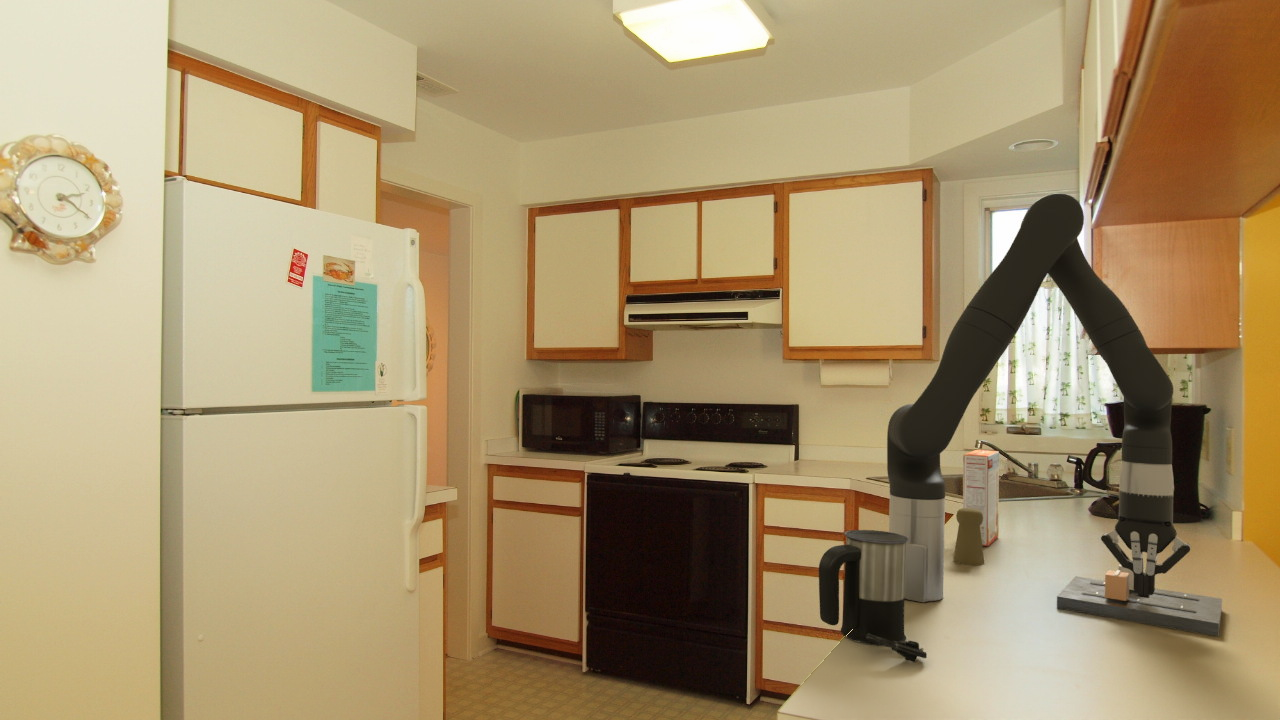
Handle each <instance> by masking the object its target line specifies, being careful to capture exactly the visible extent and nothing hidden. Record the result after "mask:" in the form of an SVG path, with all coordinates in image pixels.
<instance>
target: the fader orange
mask: <svg viewBox="0 0 1280 720" xmlns="http://www.w3.org/2000/svg"><path fill="white" fill-rule="evenodd" d="M1104 581H1105V598H1111V599H1117V600H1123V601H1126V600H1127V598H1128V597H1129V573H1125V572H1121V570H1118V569H1117V570H1110V569H1109V570H1107V572H1106V573H1105V579H1104Z"/></svg>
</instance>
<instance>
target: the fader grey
mask: <svg viewBox="0 0 1280 720" xmlns="http://www.w3.org/2000/svg"><path fill="white" fill-rule="evenodd" d="M1117 568H1118V569H1117V570H1121V572H1125V573H1129V590H1134V573H1133V572H1132V571H1131V570H1129V569H1127V568H1124V567H1122V566H1121V564H1120V563H1119V565H1118V567H1117Z"/></svg>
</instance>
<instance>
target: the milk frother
mask: <svg viewBox="0 0 1280 720" xmlns="http://www.w3.org/2000/svg"><path fill="white" fill-rule="evenodd" d="M843 535H844V536H845V537H846V540H845V541H846V544H841V545H835V546H832V547H830V548H828V549H827V550H826V551H825V552H824V553H823V555H822V556H821V558H820V560H819V564H818V595H819V617H820V620H821V621H822V622H824V623H826V624H828V625H829V626H837V625H838V624H839V622H840V621H839V620H840V575H839V574H840V571H841V570H840V569H841V568H842V566H843V565H844V581H843V590H844V591H843V605H842V621H841V622H842V623H841V628H840V632H841V633H840V634H842V635H843V636H844V637H845V636H846V635H847V634H848V633H849V632H850V631H851V630H852V629H853V630H852V631H851V632H850V633H849V634H848V635H847V637H846V638H847V639H848V640H851V641H854V642H857V643H861V644H865V645H871V646H884V647H887V648H891V650H892V651H895V652H896V653H897V654H898V655H900V656H901V657H903V658H905V661H909V662H913V663H915V662H916V661H917V658H918V657H919V658H922V659H926V658H927V655H928V653H927V652H926V651H924V648H922V647H921V648H920V644H919V642H918V641H914V640H908V641H906V640H907V636H906V635H905V600H906V599H905V598H904V596H905V569H906V542H907V541H908V540H909V539H908V537H906V536H903V535H899V534H896V533H891V532H889V531H884V530H874V529H872V530H871V529H853V530H848V531H847V530H846V531H845V532H844V534H843Z"/></svg>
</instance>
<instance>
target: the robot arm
mask: <svg viewBox="0 0 1280 720" xmlns="http://www.w3.org/2000/svg"><path fill="white" fill-rule="evenodd" d="M1084 221H1085V215H1084V210H1083V207H1082V205H1081V203H1080V202H1079V201H1078V199H1076V198H1075V197H1074V196H1072V195H1070V194H1066V193H1062V192H1061V193H1060V192H1057V193H1051V194H1047V195H1045V196H1042V197H1041V198H1039V199H1037V200H1035V202H1033V203H1032V204H1031V205H1030V207H1028V209H1027V211H1026V213H1025V215H1024V217H1023V219H1022V220H1021V224H1020V227H1019V229H1018V231H1017V234H1016V236H1015V237H1014V240H1013V241H1012V243H1011V245H1010V247H1009V249H1008V250H1007V252H1006V253H1005V255H1004V257H1003V258H1002V259H1001V261H1000V262H999V264H997V266H996V267H995V269H994V270H993V271H992V272H991V274H990V275H989V276H988V277H987V279H986V280H985V281H984V282H983V284H982V285H981V286H980V288H979V289H978V290H977V292H976V293H975V294H974V296H973V297H972V299H971V300H970V301H969V303H968V304H967V306H966V307H965V309H964V310H963V312H961V313H962V314H961V315H960V316H959V318H958V320H957V321H956V323H955V324H954V326H953V328H952V330H951V332H950V334H949V336H948V338H947V341H946V344H945V347H944V350H943V353H942V356H941V358H940V362H939V365H938V366H937V367H938V368H937V370H936V371H935V374H934V376H933V377H932V378H931V380H930V382H929V384H928V385H927V386H926V388H925V389H924V390H923V392H922V393H921V394H920V395H919V396H918V398H917V400H916V401H914V403H909V404H905V405H903V406H900V407H898V408H897V409H896V410H895V411H894V412H893V414H892V415H891V417H890V419H889V420H888V421H889V422H888V425H887V431H886V432H887V434H886V435H887V436H886V442H887V443H886V449H887V450H886V457H887V458H886V463H887V464H886V465H887V467H886V468H887V469H886V472H887V477H888V482H889V483H888V484H889V508H888V509H889V510H888V532H891V533H896V534H899V535H903V536H906V537H908V539H909V540H908V541H907V542H906V569H905V596H904V598H905V600H910V601H914V602H918V603H919V602H920V603H926V602H933V601H939V600H941V599H943V598H944V575H945V573H944V572H945V571H944V568H945V567H944V566H945V565H944V564H945V561H944V560H945V522H946V521H945V515H946V483H945V480H944V478H943V474H942V470H941V468H942V467H941V454H942V452H944V450H946V449H947V448H948V446H949V445H950V442H951V441H952V439H953V437H954V435H955V433H956V432H957V428H958V427H959V425H960V423H961V421H962V419H963V416H964V414H965V413H966V412H967V411H966V410H967V409H968V406H969V404H970V402H971V401H972V399H973V398H974V396H975V395H976V393H977V392H978V390H979V389H980V388H981V386H982V385H983V383H984V382H985V380H986V379H987V378H988V377H989V375H990V373H991V372H992V370H993V369H994V367H995V366H996V364H997V363H998V361H999V360H1000V359H1001V357H1002V355H1004V353H1005V351H1006V350H1007V348H1008V347H1009V345H1010V344H1011V342H1012V341H1013V339H1014V338H1015V336H1016V334H1017V333H1018V331H1019V329H1020V328H1021V326H1022V324H1023V322H1024V320H1025V318H1026V316H1027V314H1028V312H1029V310H1030V308H1031V307H1032V305H1033V302H1034V300H1035V298H1036V296H1037V295H1038V291H1039V290H1040V288H1041V285H1042V284H1043V281H1044V280H1045V278H1046V276H1047V275H1048V276H1049V277H1050V279H1052V281H1053V282H1054V284H1055V285H1056V286H1057V288H1058V289H1059V291H1060V292H1061V293H1062V296H1064V298H1065V299H1066V301H1067V302H1068V304H1069V305H1070V307H1071V309H1072V311H1073V312H1074V314H1075V316H1077V319H1078V321H1079V322H1080V324H1081V326H1082V327H1083V329H1084V331H1085V332H1086V334H1087V336H1088V338H1089V340H1090V341H1091V342H1092V344H1093V346H1094V348H1095V349H1096V351H1097V352H1098V354H1099V355H1100V357H1101V359H1103V361H1104V362H1105V363H1106V365H1107V367H1108V369H1109V371H1110V373H1111V375H1112V377H1113V379H1114V382H1115V383H1116V385H1117V387H1118V388H1119V391H1120V393H1121V395H1122V396H1123V417H1124V418H1123V419H1124V421H1123V422H1124V428H1123V430H1122V437H1121V464H1120V469H1119V484H1118V485H1119V486H1118V488H1119V489H1118V491H1119V492H1118V520H1117V522H1116V524H1115V525H1114V529H1113V530H1111V531H1109V532H1106V533H1104V534H1102V535H1101V537H1100V541H1101V542H1102V544H1104V545H1105V546H1106V548H1107V549H1108V550H1109V552H1110V553H1111V554H1112V556H1113V557H1114V558H1115V559H1116V561H1117V562H1118V563H1119V564H1121V566H1122V567H1124V568H1127V569H1129V570H1131V571H1132V572H1133V573H1134V592H1135V593H1138V597H1144V598H1149V597H1150V595H1153V593H1154V591H1155V587H1156V585H1155V584H1156V575H1158V574H1159V575H1160V574H1163V575H1165V574H1167V573H1168V572H1169V571H1170V570H1171V569H1172V568H1173V567H1174V566H1176V564H1178V563H1179V562H1180V561H1182V559H1183V558H1184V557H1185V556H1186V555H1188V554H1189V553H1190V551H1191V549H1192V548H1191V547H1192V546H1191V545H1190V543H1188V542H1185V541H1184V540H1182V539H1181V538H1180V537H1178V536H1177V531H1176V530H1177V529H1175V526H1174V492H1175V484H1174V479H1175V478H1174V472H1173V471H1174V470H1173V465H1172V464H1173V439H1172V438H1173V437H1172V432H1171V424H1172V423H1171V421H1172V409H1173V407H1172V404H1173V396H1174V385H1173V383H1172V380H1171V378H1170V377H1169V375H1168V374H1167V372H1166V371H1165V369H1164V367H1163V366H1162V364H1160V362H1159V361H1158V359H1157V358H1156V356H1155V355H1154V353H1153V352H1152V350H1151V349H1150V348H1149V346H1148V344H1147V342H1146V339H1145V337H1144V335H1143V333H1142V332H1141V330H1140V328H1139V327H1138V325H1137V323H1136V322H1135V320H1134V318H1133V316H1132V314H1131V313H1130V311H1129V310H1128V309H1127V307H1126V306H1125V304H1124V303H1123V302H1122V301H1121V299H1120V298H1119V297H1118V296H1117V295H1116V293H1115V292H1114V291H1113V290H1112V289H1111V288H1110V287H1109V286H1108V285H1107V284H1106V283H1105V282H1104V281H1103V280H1102V279H1101V278H1100V277H1099V276H1098V275H1097V273H1096V272H1095V270H1094V269H1093V268H1092V266H1091V265H1090V264H1089V262H1088V260H1087V258H1086V256H1085V254H1084V252H1083V250H1082V248H1081V245H1080V242H1079V240H1078V237H1079V236H1080V234H1081V233H1082V230H1083V228H1084V224H1085V223H1084ZM1119 537H1120V538H1119ZM1120 539H1121V541H1122V542H1123V543H1124V544H1125V546H1126V547H1127V548H1128V549H1129V550H1131V557H1132V558H1131V559H1132V560H1131V559H1130V558H1129V556H1128V555H1127V554H1126V552H1124V551H1123V549H1122V547H1120V545H1119V542H1120ZM1171 543H1173V545H1172V547H1171V550H1172V552H1173V553H1171V554H1170V555H1169V556H1168V557H1167V558H1166V559H1165V560H1164V561H1163V562H1162V563H1157V561H1158V555H1159V554H1161V553H1162V552H1163V551H1164V550H1165V549H1166V548H1167V547H1168V546H1169V545H1170V544H1171ZM1144 553H1146V564H1145V569H1144ZM1144 571H1145V572H1144Z"/></svg>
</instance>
